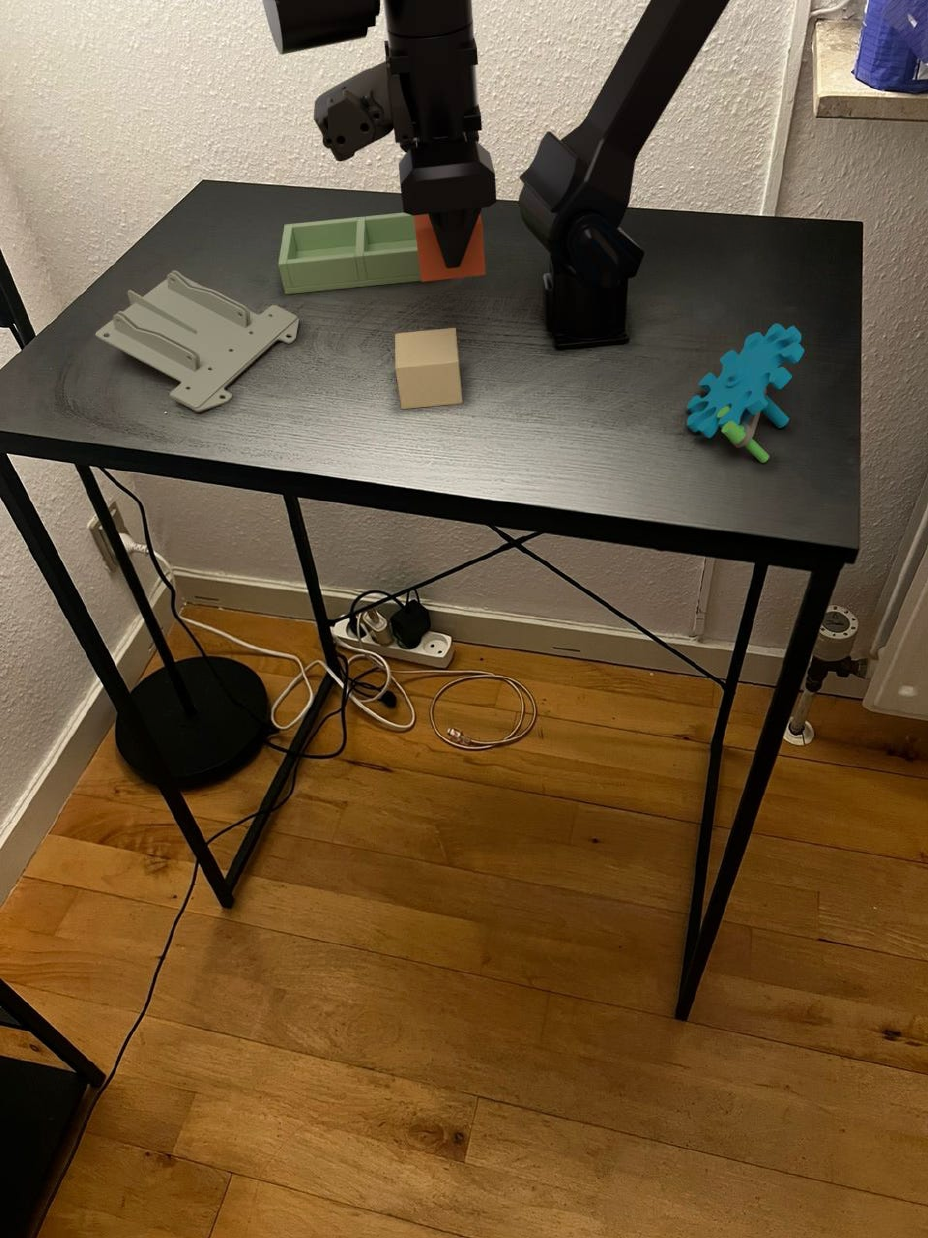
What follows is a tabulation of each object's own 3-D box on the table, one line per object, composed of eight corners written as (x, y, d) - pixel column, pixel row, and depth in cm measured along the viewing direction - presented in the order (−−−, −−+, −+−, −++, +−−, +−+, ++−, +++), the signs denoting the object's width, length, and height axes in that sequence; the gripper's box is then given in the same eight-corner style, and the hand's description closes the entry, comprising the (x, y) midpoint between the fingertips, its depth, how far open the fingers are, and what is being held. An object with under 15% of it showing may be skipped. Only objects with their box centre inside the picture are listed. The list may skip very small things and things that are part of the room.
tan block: (459, 369, 80) (455, 327, 77) (462, 403, 77) (458, 361, 74) (401, 374, 80) (395, 333, 77) (401, 409, 77) (395, 367, 74)
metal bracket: (66, 324, 78) (179, 241, 87) (77, 377, 83) (184, 293, 92) (208, 401, 77) (310, 308, 85) (212, 450, 81) (308, 358, 90)
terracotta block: (480, 243, 76) (476, 194, 73) (485, 274, 72) (482, 224, 69) (418, 251, 76) (412, 201, 73) (421, 282, 72) (415, 231, 69)
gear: (698, 356, 75) (804, 294, 67) (745, 404, 78) (852, 349, 70) (662, 455, 70) (773, 399, 62) (713, 503, 72) (827, 455, 64)
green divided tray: (441, 238, 96) (437, 208, 93) (443, 278, 90) (440, 247, 88) (291, 253, 96) (284, 224, 94) (285, 294, 91) (278, 264, 88)
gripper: (311, -6, 68) (348, 208, 80) (303, 88, 56) (347, 325, 67) (464, -23, 68) (479, 193, 80) (490, 67, 55) (502, 307, 67)
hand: (450, 250), depth 73 cm, fingers closed on terracotta block, 5 cm apart
